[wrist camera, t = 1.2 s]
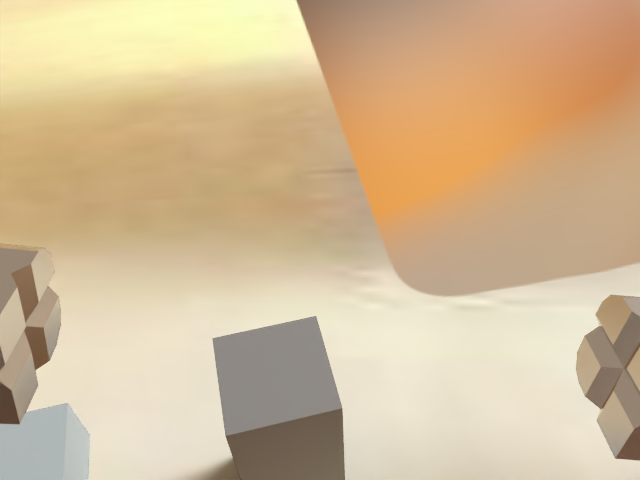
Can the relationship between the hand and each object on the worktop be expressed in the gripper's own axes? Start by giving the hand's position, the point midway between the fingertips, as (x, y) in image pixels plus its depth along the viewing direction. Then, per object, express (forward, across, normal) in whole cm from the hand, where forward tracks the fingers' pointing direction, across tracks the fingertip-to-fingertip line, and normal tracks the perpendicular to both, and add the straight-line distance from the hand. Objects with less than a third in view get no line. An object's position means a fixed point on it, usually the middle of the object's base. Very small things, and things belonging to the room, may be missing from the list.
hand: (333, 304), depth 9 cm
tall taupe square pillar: (+14, -2, +26) cm, 30 cm away
